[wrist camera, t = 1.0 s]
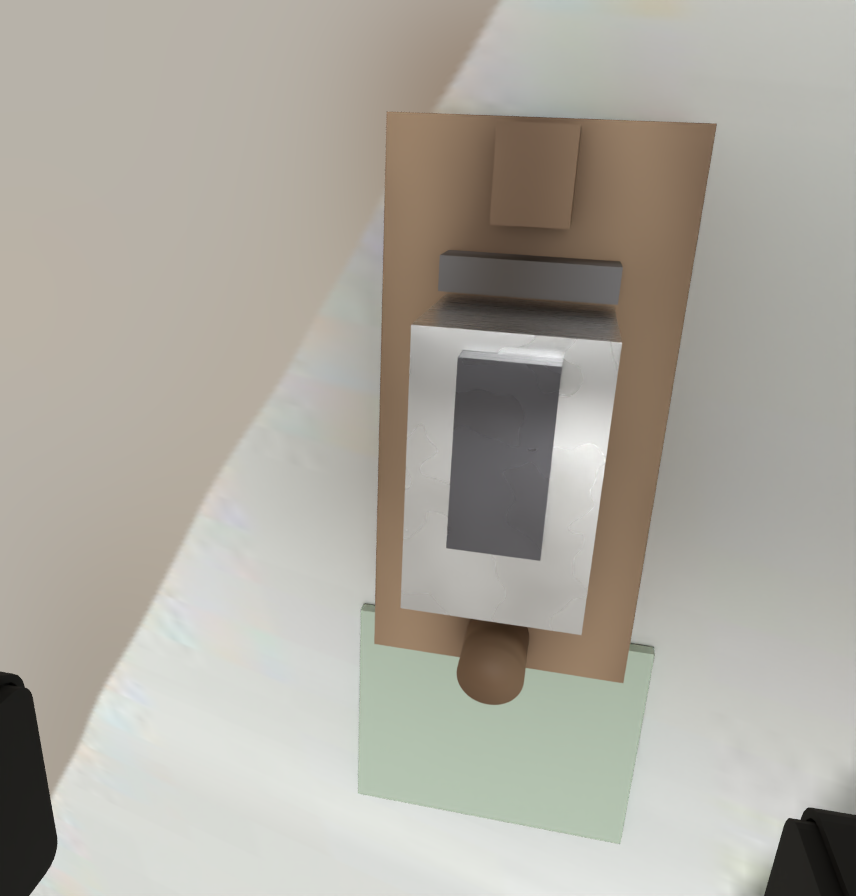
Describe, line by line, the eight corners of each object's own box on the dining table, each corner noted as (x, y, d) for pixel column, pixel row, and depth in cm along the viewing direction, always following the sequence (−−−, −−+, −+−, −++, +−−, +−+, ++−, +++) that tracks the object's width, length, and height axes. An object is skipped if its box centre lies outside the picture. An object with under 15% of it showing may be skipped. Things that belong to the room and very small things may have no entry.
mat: (653, 647, 30) (654, 654, 30) (619, 835, 34) (620, 844, 33) (364, 604, 32) (360, 610, 32) (361, 785, 36) (358, 793, 35)
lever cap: (614, 306, 22) (623, 350, 17) (582, 549, 25) (581, 652, 19) (446, 293, 23) (403, 331, 17) (433, 529, 26) (393, 624, 20)
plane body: (696, 131, 24) (737, 115, 17) (618, 620, 30) (627, 743, 23) (416, 120, 25) (357, 102, 19) (399, 588, 31) (350, 696, 25)
